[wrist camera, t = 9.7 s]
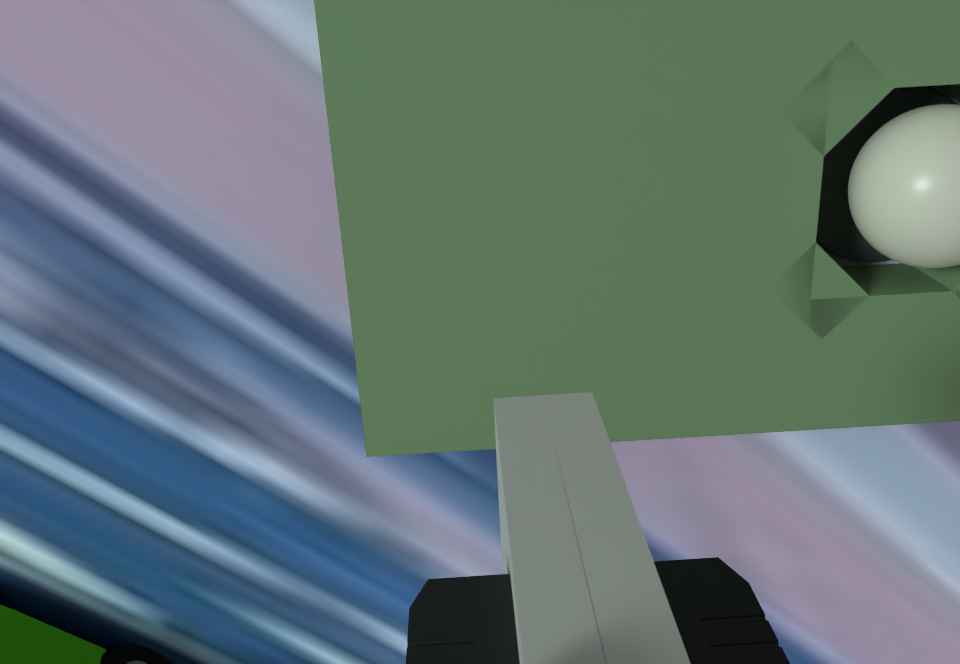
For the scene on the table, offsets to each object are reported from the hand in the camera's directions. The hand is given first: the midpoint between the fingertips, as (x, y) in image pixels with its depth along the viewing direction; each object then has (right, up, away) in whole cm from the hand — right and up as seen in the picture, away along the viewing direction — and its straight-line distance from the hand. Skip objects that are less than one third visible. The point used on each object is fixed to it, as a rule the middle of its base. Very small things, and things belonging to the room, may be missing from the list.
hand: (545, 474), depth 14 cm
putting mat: (+7, +7, +16) cm, 19 cm away
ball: (+13, +7, +14) cm, 20 cm away
